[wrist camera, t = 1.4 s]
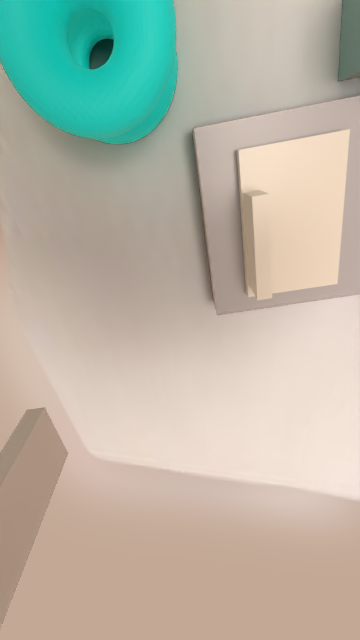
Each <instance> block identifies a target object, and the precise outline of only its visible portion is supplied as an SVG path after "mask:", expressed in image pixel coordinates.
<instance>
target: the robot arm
mask: <svg viewBox="0 0 360 640" xmlns="http://www.w3.org/2000/svg"><path fill="white" fill-rule="evenodd" d="M67 455H68V452H67V450H66V448H65V446H64V444H63V442H62V440H61V439H60V437H59V435H58V433H57V431H56V429H55V427H54V425H53V423H52V421H51V419H50V417H49V415H48V413H47V411H46V409H45V408H37V409H30V410H27V411H26V412H25V414H24V415H23V417H22V419H21V420H20V422H19V424H18V425H17V427H16V428H15V430H14V432H13V433H12V435H11V437H10V438H9V440H8V441H7V443H6V444H5V446H4V448H3V449H2V451H1V453H0V629H1V626H2V624H3V621H4V618H5V616H6V613H7V611H8V608H9V606H10V603H11V600H12V598H13V595H14V592H15V590H16V587H17V585H18V582H19V579H20V577H21V574H22V571H23V569H24V566H25V564H26V561H27V559H28V556H29V553H30V551H31V548H32V546H33V543H34V540H35V538H36V535H37V533H38V530H39V527H40V525H41V522H42V520H43V517H44V515H45V512H46V509H47V507H48V504H49V501H50V499H51V496H52V494H53V491H54V489H55V486H56V483H57V481H58V478H59V476H60V473H61V470H62V468H63V465H64V463H65V460H66V457H67Z"/></svg>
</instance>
